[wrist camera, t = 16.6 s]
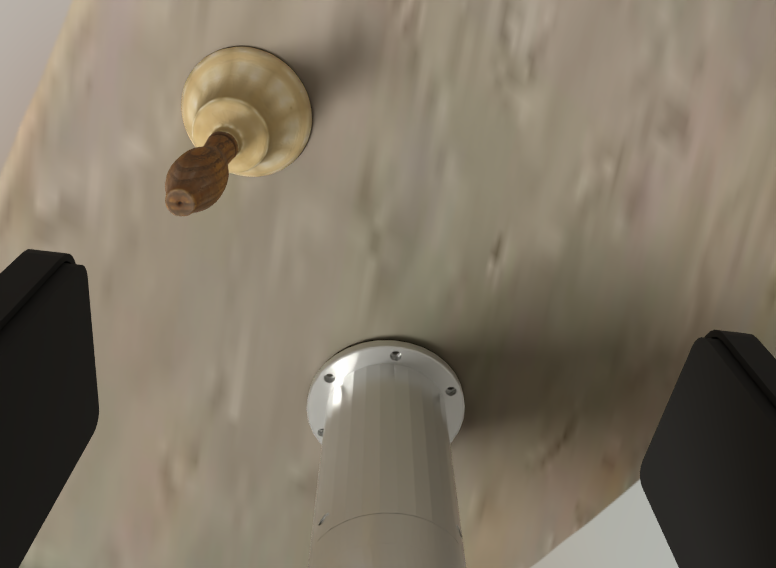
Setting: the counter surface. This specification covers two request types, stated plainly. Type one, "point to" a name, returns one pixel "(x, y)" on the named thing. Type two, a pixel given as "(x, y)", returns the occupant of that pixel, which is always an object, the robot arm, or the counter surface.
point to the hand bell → (236, 125)
